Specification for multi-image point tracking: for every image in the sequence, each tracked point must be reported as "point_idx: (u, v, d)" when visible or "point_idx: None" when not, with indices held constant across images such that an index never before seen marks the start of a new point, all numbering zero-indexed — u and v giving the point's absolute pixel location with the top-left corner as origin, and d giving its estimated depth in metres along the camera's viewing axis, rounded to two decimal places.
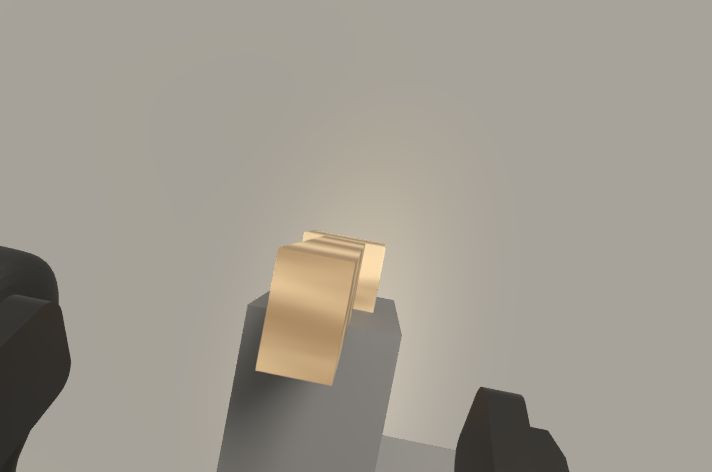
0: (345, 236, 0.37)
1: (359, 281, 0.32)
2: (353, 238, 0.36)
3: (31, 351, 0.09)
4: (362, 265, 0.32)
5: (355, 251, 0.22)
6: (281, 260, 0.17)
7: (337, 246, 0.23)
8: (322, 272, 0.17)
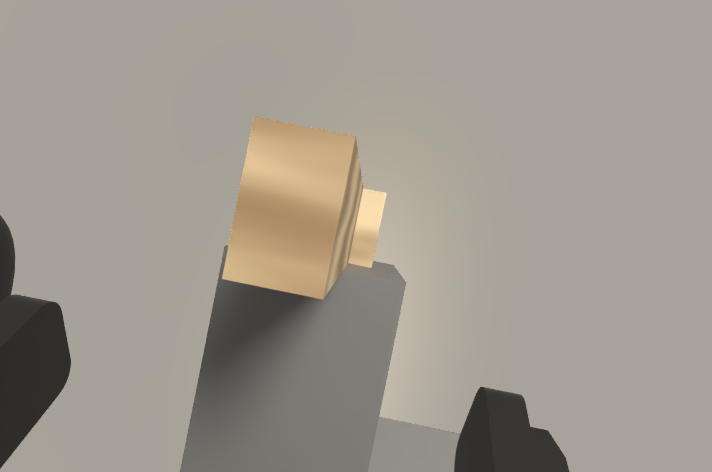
0: None
1: (356, 231, 0.28)
2: None
3: (31, 351, 0.09)
4: (359, 213, 0.28)
5: None
6: (258, 133, 0.13)
7: None
8: (312, 148, 0.13)
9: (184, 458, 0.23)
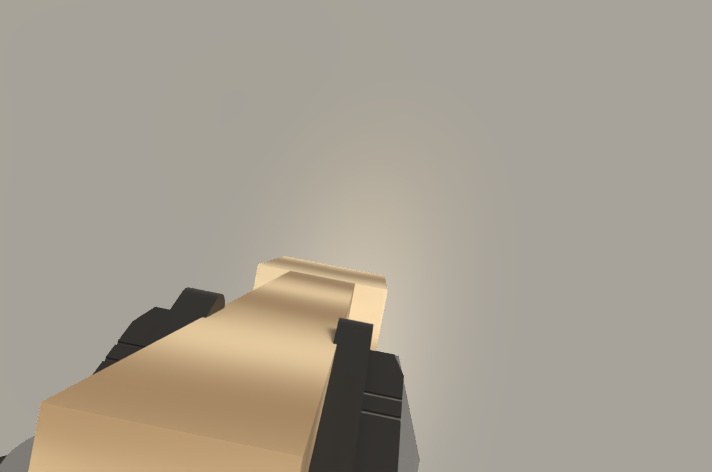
0: (327, 265, 0.25)
1: None
2: (338, 269, 0.24)
3: None
4: (350, 318, 0.20)
5: (328, 330, 0.11)
6: (52, 445, 0.05)
7: (294, 313, 0.12)
8: None
9: None
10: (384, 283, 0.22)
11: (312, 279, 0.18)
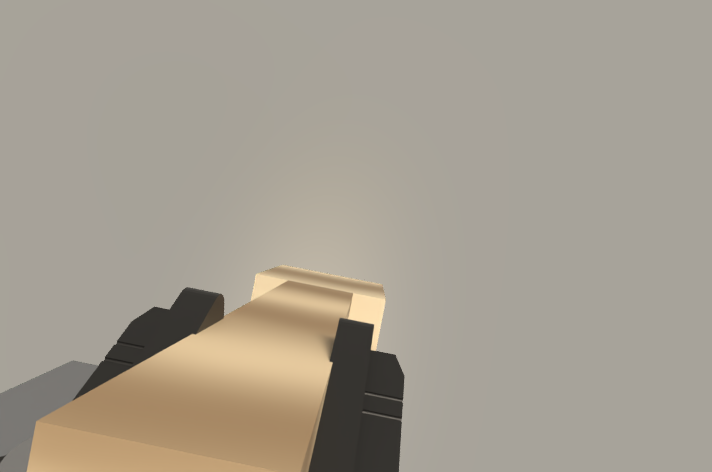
0: (325, 274, 0.25)
1: None
2: (336, 278, 0.24)
3: None
4: None
5: (326, 342, 0.11)
6: (47, 464, 0.05)
7: (292, 325, 0.12)
8: None
9: None
10: (382, 292, 0.22)
11: (310, 289, 0.18)
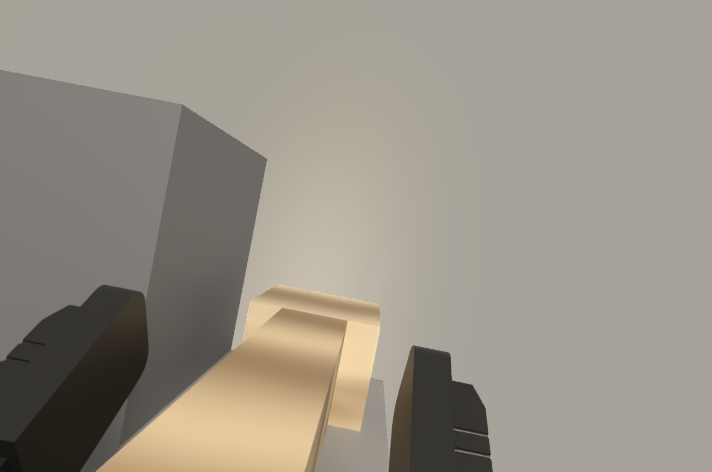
0: (321, 294, 0.25)
1: (338, 381, 0.20)
2: (332, 299, 0.24)
3: (122, 337, 0.10)
4: (342, 355, 0.20)
5: (312, 402, 0.10)
6: None
7: (279, 378, 0.11)
8: None
9: None
10: (378, 316, 0.22)
11: (303, 319, 0.18)
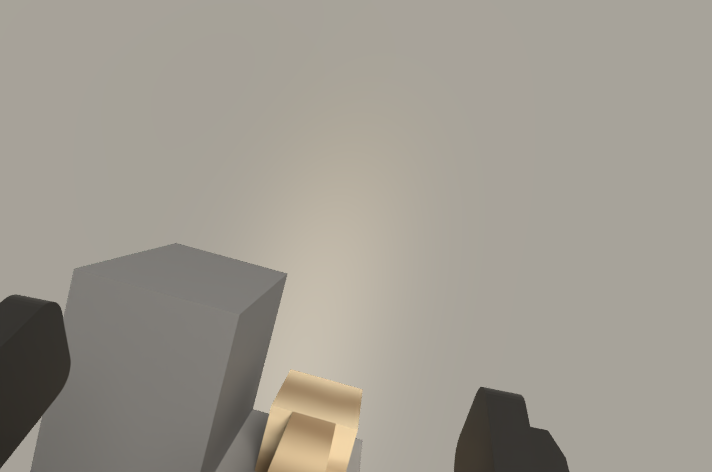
0: (321, 382, 0.34)
1: None
2: (328, 389, 0.34)
3: (31, 351, 0.09)
4: (331, 446, 0.29)
5: None
6: None
7: None
8: None
9: (35, 457, 0.25)
10: (358, 412, 0.31)
11: (306, 427, 0.28)
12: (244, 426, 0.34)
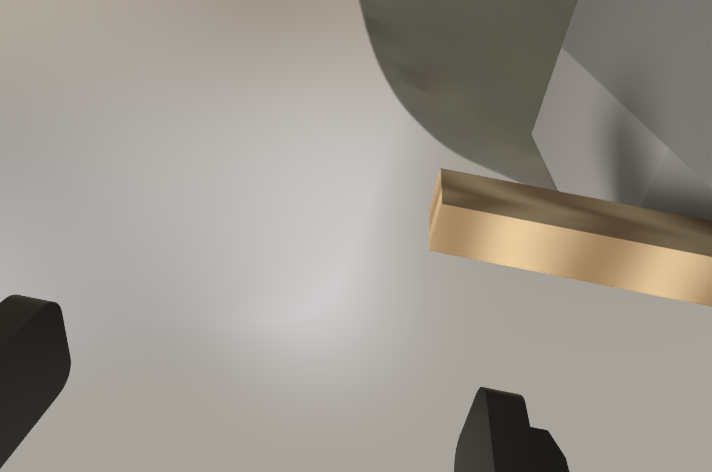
0: None
1: None
2: None
3: (31, 351, 0.09)
4: None
5: (551, 270, 0.24)
6: (441, 203, 0.24)
7: (581, 259, 0.24)
8: (433, 227, 0.25)
9: None
10: None
11: None
12: None
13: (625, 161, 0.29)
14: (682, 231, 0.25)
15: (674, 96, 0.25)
